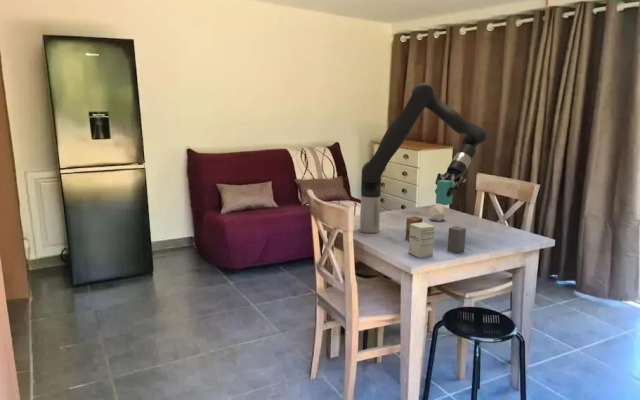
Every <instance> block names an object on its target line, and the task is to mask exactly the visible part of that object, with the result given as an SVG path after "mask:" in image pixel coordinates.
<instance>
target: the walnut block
mask: <svg viewBox="0 0 640 400" xmlns="http://www.w3.org/2000/svg"><path fill="white" fill-rule="evenodd" d="M421 222H423V218H421V217H417V216H411V217H406V225H405V227H406V228H405V240H406V241H409V235H410V224H413V223H421Z"/></svg>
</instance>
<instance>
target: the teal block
mask: <svg viewBox="0 0 640 400" xmlns="http://www.w3.org/2000/svg"><path fill="white" fill-rule="evenodd" d="M451 184H452V181H449V180H439V181H437V185H436V188H437V192H436V193H435V194H436V196H435V204H436V205H441V206H447V205H452V204H453V197H454V196H453V195H454V192H453V193H452V195H451V196H450V197H447V195H446V193H447V192H448V190H449V188H451Z"/></svg>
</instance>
